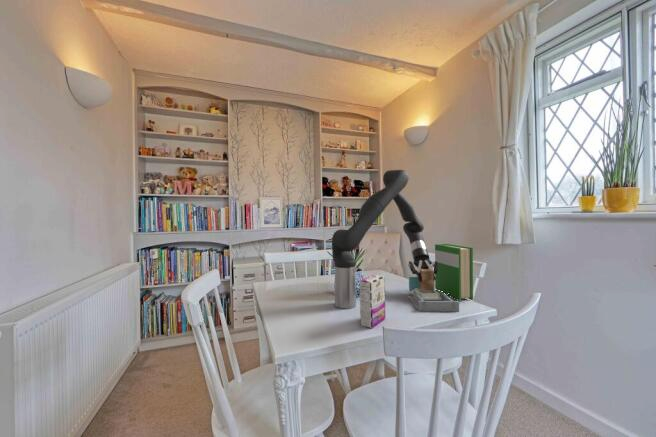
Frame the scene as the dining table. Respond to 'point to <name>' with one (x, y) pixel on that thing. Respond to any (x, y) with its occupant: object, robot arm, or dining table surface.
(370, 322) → the candy bar box
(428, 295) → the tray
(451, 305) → the dock
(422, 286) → the walnut block
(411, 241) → the robot arm
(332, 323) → the dining table surface
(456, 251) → the hardback book
